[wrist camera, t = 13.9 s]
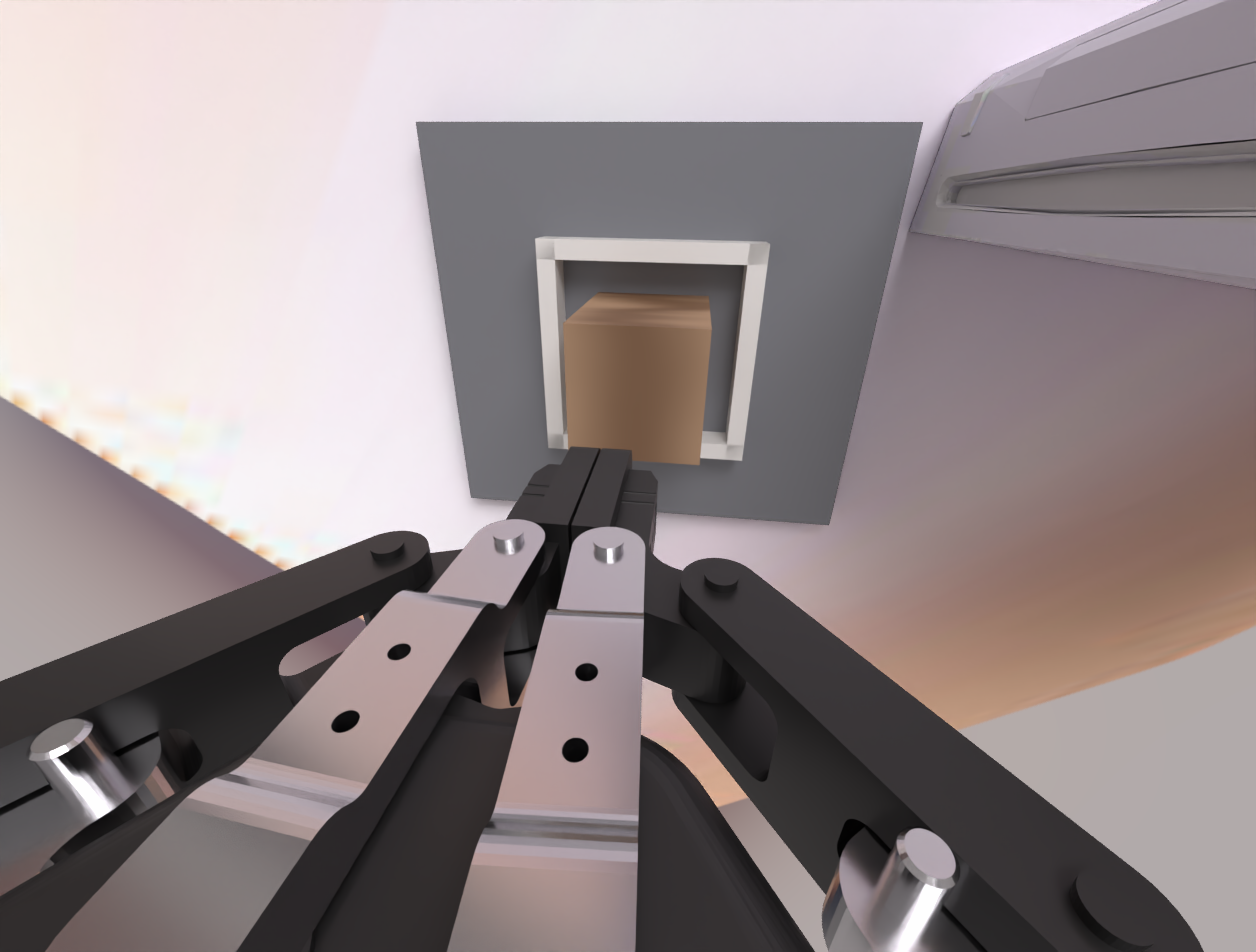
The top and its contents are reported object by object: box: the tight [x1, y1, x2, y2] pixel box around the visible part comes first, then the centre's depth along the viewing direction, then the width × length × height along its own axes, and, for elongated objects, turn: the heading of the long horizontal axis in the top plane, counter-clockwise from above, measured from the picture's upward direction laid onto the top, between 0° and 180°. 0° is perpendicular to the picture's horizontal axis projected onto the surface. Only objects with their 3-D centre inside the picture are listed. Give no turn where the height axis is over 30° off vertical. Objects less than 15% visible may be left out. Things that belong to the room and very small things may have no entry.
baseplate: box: [416, 122, 923, 525], centre depth 25 cm, size 20×18×3 cm
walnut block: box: [563, 292, 712, 465], centre depth 22 cm, size 5×5×7 cm
